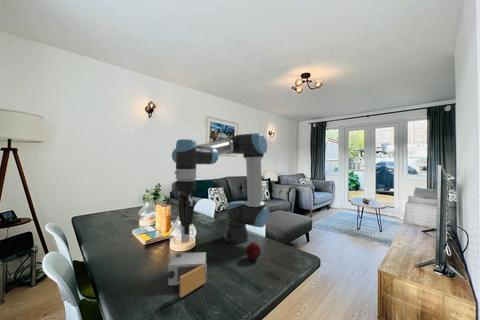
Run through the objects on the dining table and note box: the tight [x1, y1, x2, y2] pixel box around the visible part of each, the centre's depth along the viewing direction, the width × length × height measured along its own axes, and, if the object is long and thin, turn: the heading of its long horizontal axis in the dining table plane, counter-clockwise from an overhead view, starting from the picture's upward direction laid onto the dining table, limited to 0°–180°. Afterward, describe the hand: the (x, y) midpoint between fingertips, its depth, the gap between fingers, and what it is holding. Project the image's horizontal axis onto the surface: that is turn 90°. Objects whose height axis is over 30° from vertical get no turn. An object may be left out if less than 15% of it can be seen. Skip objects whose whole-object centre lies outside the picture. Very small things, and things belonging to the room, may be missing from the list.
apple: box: [244, 241, 262, 261], centre depth 103 cm, size 7×8×8 cm
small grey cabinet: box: [167, 251, 207, 286], centre depth 86 cm, size 14×11×9 cm
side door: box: [179, 263, 208, 298], centre depth 77 cm, size 12×1×7 cm, turn 141°
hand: (185, 241), depth 78 cm, fingers closed
